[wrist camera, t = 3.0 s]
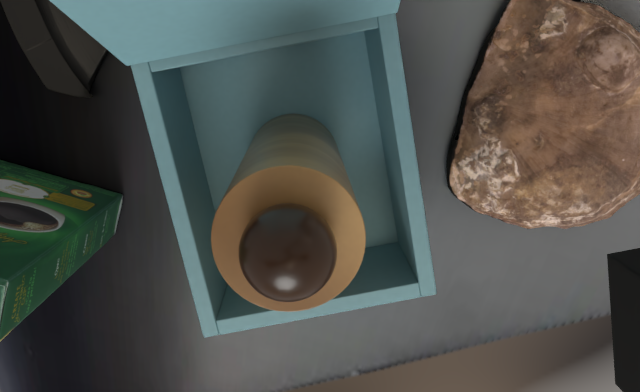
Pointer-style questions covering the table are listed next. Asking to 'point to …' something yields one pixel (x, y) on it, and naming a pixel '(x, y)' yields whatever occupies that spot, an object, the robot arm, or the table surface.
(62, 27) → the dark sector wedge
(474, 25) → the table surface
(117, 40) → the lid
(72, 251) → the coffee box
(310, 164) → the pepper mill
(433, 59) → the table surface
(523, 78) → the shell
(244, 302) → the chest
